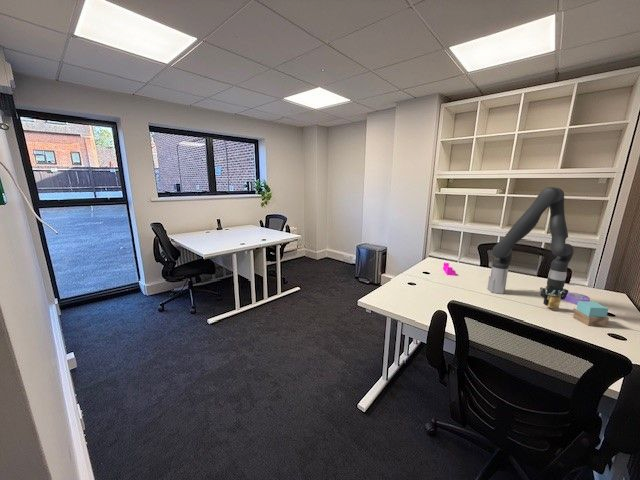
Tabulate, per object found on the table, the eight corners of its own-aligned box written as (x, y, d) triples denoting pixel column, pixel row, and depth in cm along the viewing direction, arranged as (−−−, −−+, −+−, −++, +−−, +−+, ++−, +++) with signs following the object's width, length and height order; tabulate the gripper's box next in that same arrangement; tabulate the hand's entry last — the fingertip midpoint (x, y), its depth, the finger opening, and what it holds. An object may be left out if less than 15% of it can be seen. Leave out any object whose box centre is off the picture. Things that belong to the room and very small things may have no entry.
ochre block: (549, 307, 152) (551, 297, 151) (543, 303, 157) (545, 294, 156) (558, 308, 152) (560, 298, 150) (552, 304, 157) (554, 294, 155)
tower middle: (588, 316, 136) (590, 307, 135) (576, 309, 144) (578, 300, 143) (606, 317, 135) (608, 308, 134) (593, 310, 143) (594, 301, 142)
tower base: (587, 326, 136) (589, 317, 135) (573, 317, 145) (574, 309, 144) (606, 327, 135) (608, 318, 134) (590, 318, 144) (592, 310, 143)
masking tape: (568, 303, 162) (570, 297, 162) (559, 296, 173) (560, 291, 172) (593, 306, 158) (594, 300, 158) (582, 299, 169) (583, 293, 168)
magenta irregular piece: (455, 277, 209) (456, 268, 208) (446, 276, 211) (447, 267, 209) (450, 271, 224) (451, 263, 222) (442, 271, 225) (443, 262, 224)
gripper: (547, 279, 148) (542, 307, 152) (575, 280, 146) (569, 308, 150) (538, 274, 155) (533, 301, 159) (565, 276, 154) (559, 303, 157)
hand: (551, 305), depth 154 cm, fingers closed on ochre block, 5 cm apart
